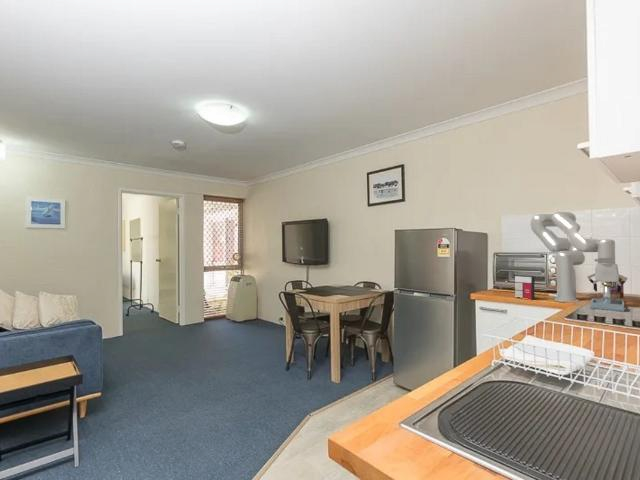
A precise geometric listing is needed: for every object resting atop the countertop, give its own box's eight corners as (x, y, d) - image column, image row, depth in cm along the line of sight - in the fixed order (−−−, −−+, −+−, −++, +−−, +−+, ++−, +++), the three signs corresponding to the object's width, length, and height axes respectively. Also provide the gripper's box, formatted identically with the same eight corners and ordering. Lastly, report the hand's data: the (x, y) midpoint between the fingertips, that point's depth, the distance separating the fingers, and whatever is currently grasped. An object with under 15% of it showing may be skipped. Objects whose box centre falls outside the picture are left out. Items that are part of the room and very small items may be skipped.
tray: (590, 308, 191) (590, 302, 191) (592, 304, 204) (592, 298, 204) (623, 311, 181) (623, 305, 181) (624, 306, 195) (624, 300, 195)
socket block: (597, 303, 207) (597, 294, 207) (598, 301, 215) (598, 293, 215) (619, 305, 200) (619, 296, 201) (619, 302, 208) (619, 294, 208)
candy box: (605, 298, 225) (605, 275, 225) (605, 297, 228) (604, 274, 229) (623, 299, 220) (623, 275, 220) (622, 298, 223) (622, 275, 224)
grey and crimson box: (514, 298, 229) (513, 275, 229) (517, 297, 231) (516, 275, 232) (532, 300, 220) (531, 276, 220) (535, 299, 223) (534, 276, 223)
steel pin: (601, 306, 193) (601, 283, 193) (601, 305, 196) (601, 282, 196) (612, 307, 190) (612, 283, 189) (612, 306, 193) (612, 283, 193)
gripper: (586, 261, 196) (586, 291, 196) (627, 262, 184) (627, 294, 184) (587, 260, 201) (588, 290, 201) (627, 261, 190) (627, 292, 190)
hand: (607, 292), depth 193 cm, fingers open, 9 cm apart
